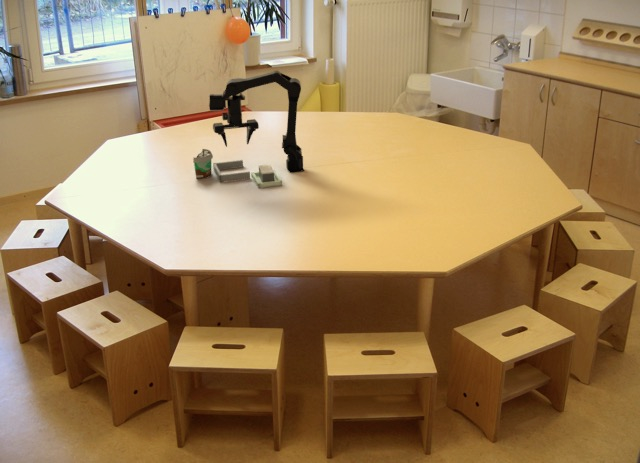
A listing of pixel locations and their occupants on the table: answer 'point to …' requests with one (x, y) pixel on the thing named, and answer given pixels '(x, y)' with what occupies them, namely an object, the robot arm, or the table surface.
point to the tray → (258, 182)
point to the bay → (233, 175)
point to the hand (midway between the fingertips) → (236, 145)
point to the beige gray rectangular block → (266, 173)
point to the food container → (203, 164)
